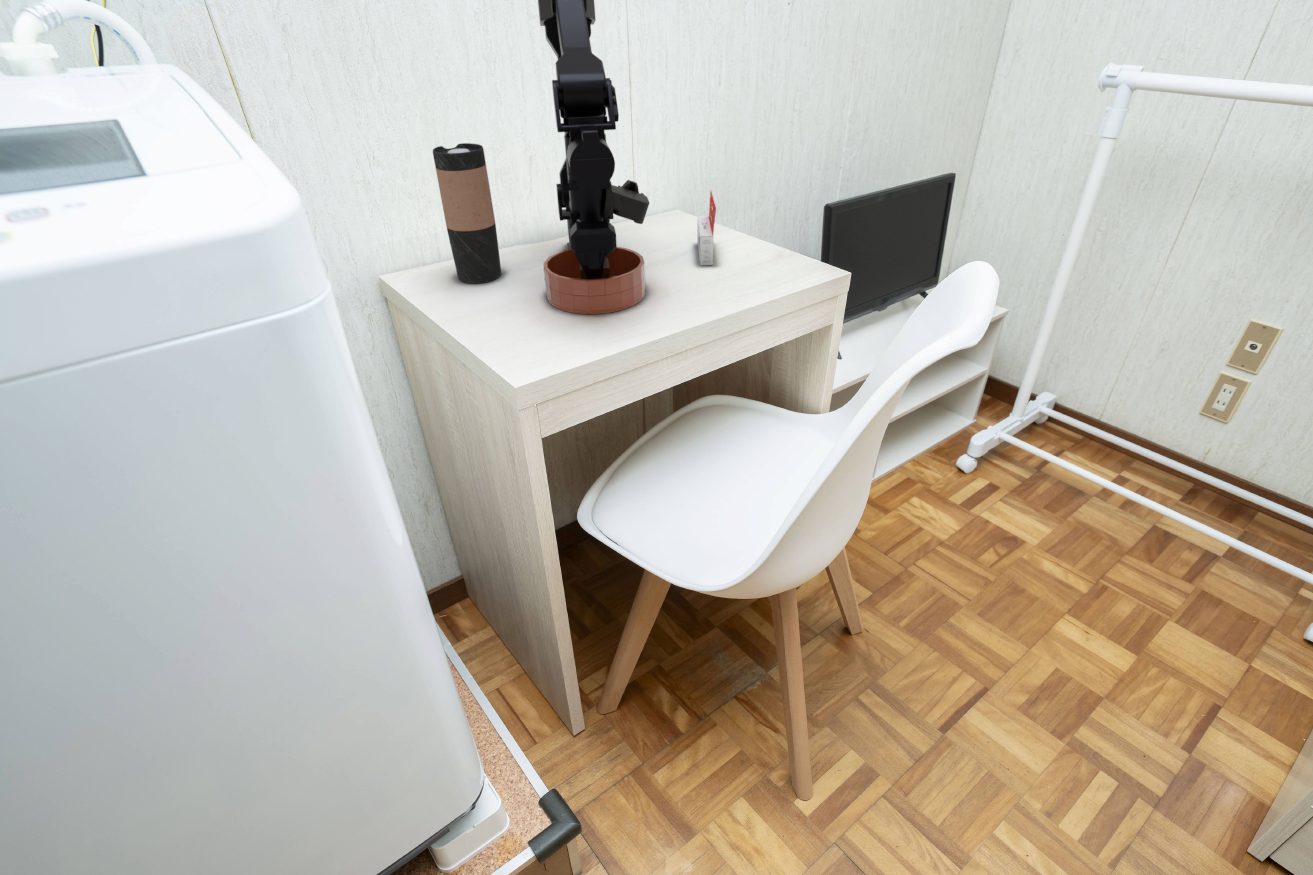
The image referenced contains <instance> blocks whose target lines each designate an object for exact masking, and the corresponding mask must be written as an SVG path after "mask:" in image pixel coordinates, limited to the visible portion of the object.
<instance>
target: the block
mask: <svg viewBox="0 0 1313 875" xmlns="http://www.w3.org/2000/svg"><path fill="white" fill-rule="evenodd" d="M580 274H581V279H588V278H587V276H586V274H585V272H584V270H583V269H582V267H581V265H580ZM609 277H610V269H609V263H608V258H605V261H604V267H603V273H602V279H603V278H609Z"/></svg>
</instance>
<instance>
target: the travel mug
mask: <svg viewBox="0 0 1313 875" xmlns="http://www.w3.org/2000/svg"><path fill="white" fill-rule="evenodd" d="M432 156H433V161H434V167H435V172H436V177H437V183H438V188H439V193H440V194H439V195H440V199H441V204H442V205H441V206H442V210H443V216H444V221H445V226H446V232H447V235H448V236H447V237H448V239H449V244H450V248H451V253H452V258H453V262H454V266H455V270H456V274H457V275H456V276H457V279H458V280H459V281H460V282H462V283H464V284H465V283H466V284H475V285H476V284H484V283H485V284H486V283H489V282H493V281H495V280H497V279H499V278H500V277H501V276H502V267H501V266H502V265H501V259H500V251H499V250H500V249H499V242H498V234H497V226H496V225H497V224H496V218H495V211H494V207H493V200H492V193H491V187H490V181H489V175H488V174H489V173H488V169H487V168H488V167H487V163H486V157H485V150H484V147H483V145H481V144H479V143H470V142H468V143H467V142H463V143H458V144H457V145H456V146H455V147H452V148H446V147H444V146H442V145H439V146H436V147H434V148H433V149H432Z"/></svg>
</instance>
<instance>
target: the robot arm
mask: <svg viewBox="0 0 1313 875" xmlns="http://www.w3.org/2000/svg"><path fill="white" fill-rule="evenodd" d="M595 7H596V6H595V0H537V8H538V17H539V26H540V27H544V32H545V40H546V42H547V44H548V45H549V47H550V49H551V50H552V51H553V53H554V54H555V56H556V57H557V60H556V62H555V76H556V79H552V80H551V85H552V86H551V87H552V97H553V98H552V99H553V106H554V114H555V123H556V130H557V131H556V132H557V133H564V136H563V139H564V149H565V159H564V161H563V164H562V165H561V168H560V171H559V173H558V174H559V183H556V198H557V208H558V209H557V211H558V217H559V221H565V220H566V223H567V224H566V225H567V232H568V242H567V243H566V245H567V246H566V247H567V248H566V250H567V249H571V248H572V250H573V253H574V254H575V256H576V257H577V259H578V261H579V263H580V265H581V267H582V269H583V270H584V272H585V274H586V276H587V278H588V279H602V273H603V267H604V261H605V257H606V256H607V255H608V254H609V253H610V252H613V251H614V250H615V248H617V247H618V245H617V232H616V228H615V226H614V225H613V224H612V223H611V220H614V215H615V216H618V217H621V218H623V219H626V220H631V221H633V223H634V224H638V225H639V224H640V225H643V224H644V221H645V218H646V215H647V212H648V209H649V206H650V200H649V198H648V196H646V195H645V194H644V193H643V192H641V193H640V190H639V185H638V182H636V181H633V180H630V179H627V180H626V181H625V183H623V184H622V185H619V184H618V185H613V184H612V181H611V179H612V177H613V176H614V173H615V168H616V162H615V161H616V160H615V157H614V155H613V152H612V150H611V148H610V146H609V144H608V143H607V134H606V133H605V131H615V130H616V129H617V126H616V122H617V123H618V122H619V119H620V118H619V116H620V114H619V108H618V101H617V94H616V87H615V86H614V85H613V84H612V79H611V77H606V73H605V67H604V63H603V60H602V59H600V58H599V57H598V56H596V55H595V54H594V53H593V52H592V46H591V36H592V27H591V26H592V25H595V24H596V23H595V22H596V8H595ZM561 119H562V120H563V121H562V120H561Z"/></svg>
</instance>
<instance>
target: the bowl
mask: <svg viewBox="0 0 1313 875" xmlns="http://www.w3.org/2000/svg"><path fill="white" fill-rule="evenodd" d="M605 258H608V263H609V269H610V277H609V278H603V279H581V274H580V263H579V261H578V259H577V257H576V256H575V254H574V253H573V250H572V248H571V249H567V248H566V249H565V250H560V251H558V252H556V253H554V254H552V255H550V256H548V257H547V258H546V260H545V261H543V274H544V283H545V284H544V285H545V292H546V298H547V301H548V303H549V304H550V305H551V306H552V307H554V308H556V309H557V310H560V311H564V312H568V313H572V314H579V315H602V314H610V313H615V312H620V311H624V310H626V309H629V308H631V307H633V306H635V305H637V304H638V303H639V302H641V301H642V300H643V299H644V298H645V294H646V278H645V277H646V269H645V266H646V265H645V259H644V256H643V255H642V254H640V253H639V252H638V251H635V250H633V249H630V248H628V247H627V248H626V247H621V246H617V248H615V250H614V251H613V252H610V253H609V254H608V255H607V256H606V257H605Z"/></svg>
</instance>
